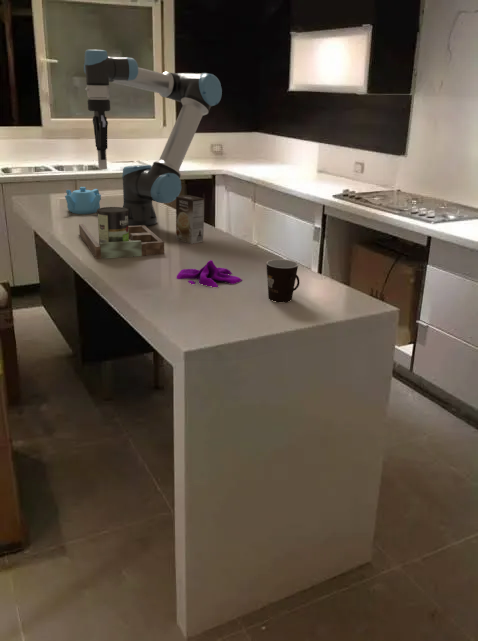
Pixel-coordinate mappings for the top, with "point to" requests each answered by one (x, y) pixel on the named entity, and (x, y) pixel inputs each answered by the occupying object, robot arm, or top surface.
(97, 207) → the teapot
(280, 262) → the coffee mug
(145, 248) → the wooden compartment tray
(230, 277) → the cloth
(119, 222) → the coffee can
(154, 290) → the top surface
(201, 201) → the coffee box
